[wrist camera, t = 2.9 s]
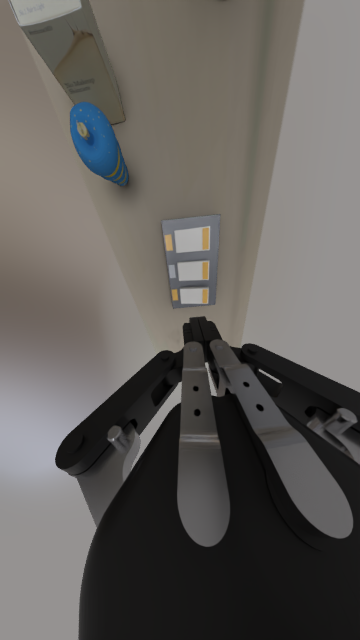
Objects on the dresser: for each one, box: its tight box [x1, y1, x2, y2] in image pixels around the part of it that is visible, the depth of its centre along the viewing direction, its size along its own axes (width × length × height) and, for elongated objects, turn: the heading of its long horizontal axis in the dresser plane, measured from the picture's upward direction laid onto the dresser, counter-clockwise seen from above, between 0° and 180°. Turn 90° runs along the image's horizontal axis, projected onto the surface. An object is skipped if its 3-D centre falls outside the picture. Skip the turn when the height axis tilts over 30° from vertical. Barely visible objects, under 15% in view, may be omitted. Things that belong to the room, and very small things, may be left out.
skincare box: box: [8, 0, 125, 124], centre depth 16 cm, size 6×4×12 cm
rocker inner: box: [174, 226, 210, 253], centre depth 27 cm, size 4×7×2 cm, turn 95°
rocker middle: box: [177, 260, 209, 281], centre depth 30 cm, size 4×7×2 cm, turn 95°
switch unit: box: [161, 214, 220, 309], centre depth 32 cm, size 20×12×4 cm, turn 5°
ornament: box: [70, 102, 128, 186], centre depth 19 cm, size 5×5×15 cm
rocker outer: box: [180, 287, 209, 304], centre depth 33 cm, size 4×7×2 cm, turn 95°
